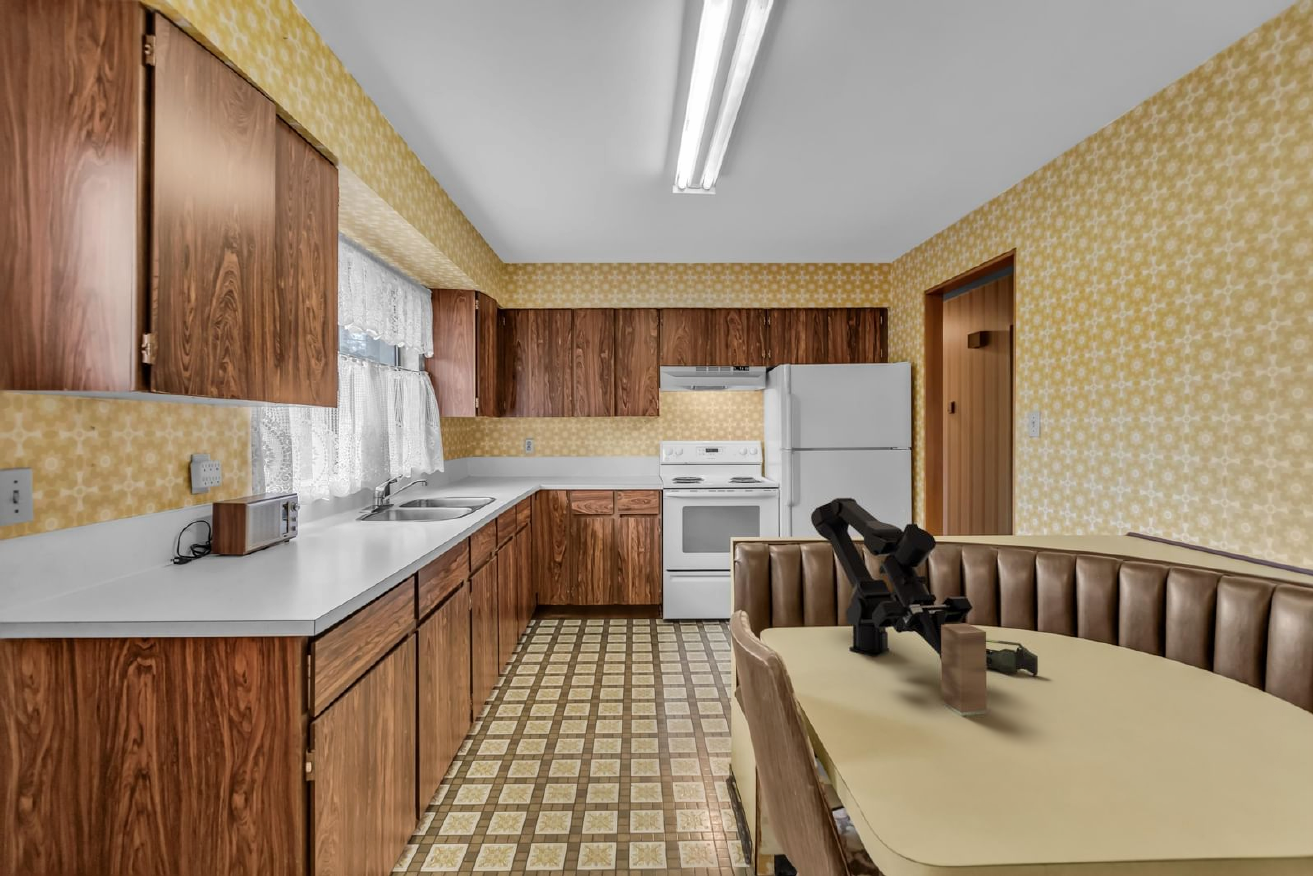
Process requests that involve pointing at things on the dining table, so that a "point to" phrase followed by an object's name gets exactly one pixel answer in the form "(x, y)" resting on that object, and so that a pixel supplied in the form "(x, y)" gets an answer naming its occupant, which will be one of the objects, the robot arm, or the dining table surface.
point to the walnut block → (964, 669)
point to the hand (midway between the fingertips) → (942, 653)
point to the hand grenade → (1011, 659)
